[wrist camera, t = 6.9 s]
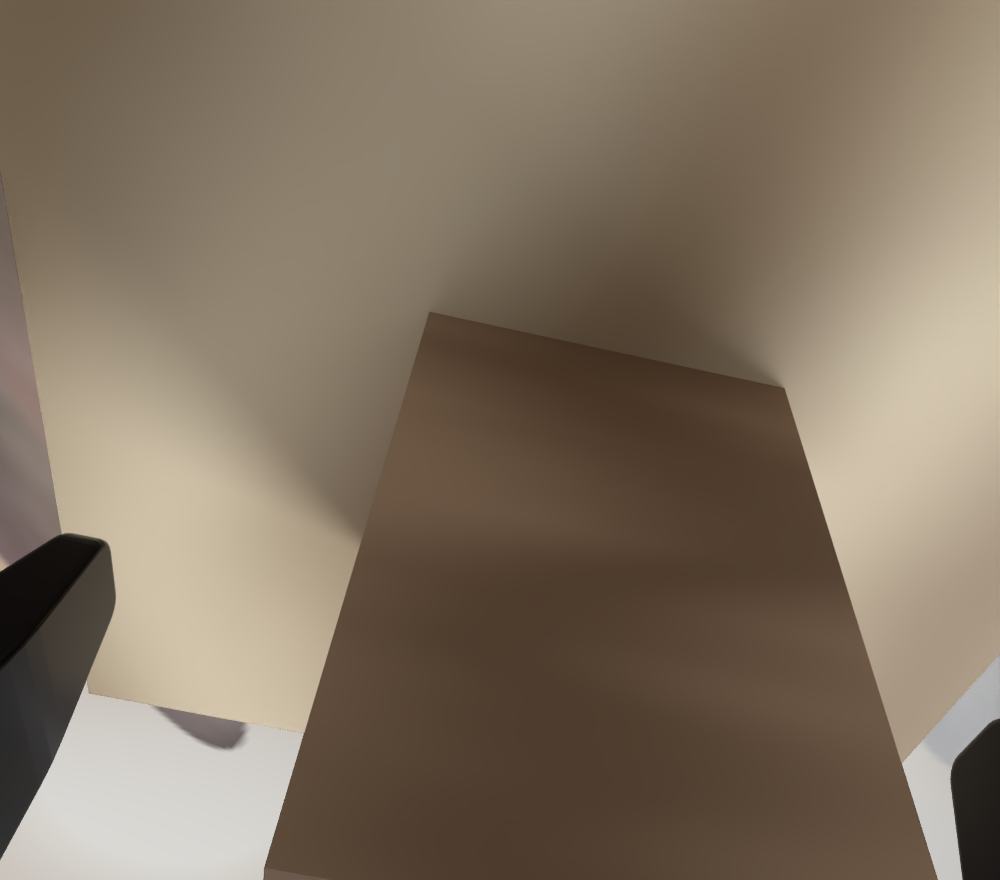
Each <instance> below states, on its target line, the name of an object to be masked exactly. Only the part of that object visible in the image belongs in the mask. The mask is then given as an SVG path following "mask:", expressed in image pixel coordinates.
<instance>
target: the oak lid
mask: <svg viewBox="0 0 1000 880" xmlns="http://www.w3.org/2000/svg"><path fill="white" fill-rule="evenodd" d="M0 172H1V178H2V184H3V190H4V195H5V201H6V207H7V213H8V219H9V225H10V231H11V237H12V243H13V249H14V254H15V260H16V266H17V272H18V278H19V284H20V290H21V296H22V302H23V308H24V313H25V319H26V325H27V331H28V337H29V343H30V349H31V355H32V361H33V367H34V372H35V378H36V384H37V390H38V396H39V402H40V408H41V414H42V420H43V426H44V431H45V437H46V443H47V449H48V455H49V461H50V467H51V473H52V479H53V485H54V490H55V496H56V502H57V508H58V514H59V520H60V526H61V532H62V534H64V533H74V534H79V535H84V536H90V537H95V538H100V539H102V540H105V541H106V542H107V543H108V545H109V546H110V550H111V556H112V564H113V573H114V581H115V590H116V603H115V608H114V612H113V616H112V619H111V621H110V624H109V626H108V629H107V631H106V634H105V636H104V639H103V641H102V643H101V646H100V648H99V651H98V653H97V656H96V658H95V661H94V663H93V666H92V668H91V670H90V673H89V675H88V678H87V685H88V691H89V693H90V694H95V695H100V696H107V697H111V698H116V699H123V700H127V701H133V702H138V703H143V704H149V705H154V706H159V707H165V708H170V709H176V710H181V711H186V712H192V713H197V714H202V715H208V716H213V717H219V718H224V719H229V720H235V721H240V722H245V723H251V724H256V725H262V726H267V727H272V728H278V729H283V730H288V731H294V732H299V733H304V736H303V739H302V742H301V746H300V749H299V753H298V756H297V759H296V762H295V766H294V769H293V773H292V776H291V779H290V783H289V786H288V790H287V793H286V796H285V799H284V803H283V806H282V810H281V813H280V817H279V820H278V823H277V827H276V830H275V833H274V837H273V840H272V843H271V847H270V850H269V853H268V857H267V860H266V864H265V867H264V880H938V879H937V875H936V872H935V869H934V866H933V863H932V859H931V856H930V853H929V850H928V847H927V843H926V840H925V837H924V834H923V830H922V827H921V824H920V821H919V818H918V814H917V812H916V808H915V805H914V802H913V798H912V795H911V792H910V789H909V786H908V782H907V779H906V776H905V773H904V770H903V766H902V763H903V761H904V760H905V759H906V758H907V757H908V756H909V755H910V754H911V752H912V751H913V750H914V749H915V748H916V747H917V746H918V745H919V744H920V743H921V741H922V740H923V739H924V738H925V737H926V736H927V735H928V734H929V732H930V731H931V730H932V729H933V728H934V727H935V726H936V725H937V724H938V722H939V721H940V720H941V719H942V718H943V717H944V716H945V715H946V714H947V712H948V711H949V710H950V709H951V708H952V707H953V706H954V705H955V704H956V702H957V701H958V700H959V699H960V698H961V697H962V696H963V695H964V693H965V692H966V691H967V690H968V689H969V688H970V687H971V686H972V685H973V683H974V682H975V681H976V680H977V679H978V678H979V677H980V676H981V675H982V673H983V672H984V671H985V670H986V669H987V668H988V667H989V666H990V665H991V663H992V662H993V661H994V660H995V659H996V658H997V657H998V656H999V654H1000V0H0Z"/></svg>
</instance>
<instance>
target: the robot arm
mask: <svg viewBox="0 0 1000 880" xmlns="http://www.w3.org/2000/svg"><path fill="white" fill-rule="evenodd" d="M115 603H116V590H115V581H114V573H113V564H112V556H111V550H110V546H109V545H108V543H107V542H106V541H105V540H102V539H100V538H95V537H90V536H84V535H79V534H74V533H64V534H61V535H58V536H56V537H54V538H53V539H51V540H49V541H48V542H46V543H45V544H43V545H42V546H40V547H38V548H37V549H35V550H34V551H32V552H30V553H29V554H27V555H26V556H24V557H23V558H21V559H19V560H18V561H16V562H15V563H13V564H12V565H10V566H8V567H7V568H5V569H4V570H2V571H0V859H1V858H2V856H3V854H4V852H5V850H6V848H7V846H8V845H9V843H10V841H11V839H12V837H13V836H14V834H15V832H16V830H17V828H18V826H19V825H20V823H21V821H22V819H23V817H24V815H25V813H26V812H27V810H28V808H29V806H30V804H31V802H32V800H33V799H34V796H35V795H36V793H37V791H38V790H39V788H40V786H41V784H42V782H43V780H44V778H45V776H46V774H47V772H48V770H49V768H50V766H51V764H52V762H53V760H54V757H55V755H56V753H57V750H58V748H59V746H60V743H61V741H62V739H63V737H64V734H65V732H66V729H67V727H68V724H69V722H70V719H71V717H72V715H73V712H74V710H75V707H76V705H77V702H78V700H79V697H80V695H81V692H82V690H83V688H84V685H85V683H86V680H87V678H88V675H89V673H90V670H91V668H92V666H93V663H94V661H95V658H96V656H97V653H98V651H99V648H100V646H101V643H102V641H103V639H104V636H105V634H106V631H107V629H108V626H109V624H110V621H111V619H112V616H113V612H114V608H115ZM951 790H952V799H953V807H954V814H955V823H956V830H957V839H958V847H959V855H960V862H961V871H962V878H963V880H1000V719H996V720H994V721H992V722H991V723H989V724H988V725H987V726H986V727H985V728H984V729H983V730H982V731H981V732H980V733H979V735H978V736H977V737H976V738H975V739H974V740H973V741H972V742H971V743H970V744H969V745H968V746H967V747H966V748H965V749H964V750H963V751H962V752H961V753H960V754H959V755H958V756H957V758H956V759H955V761H954V763H953V766H952V770H951Z"/></svg>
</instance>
